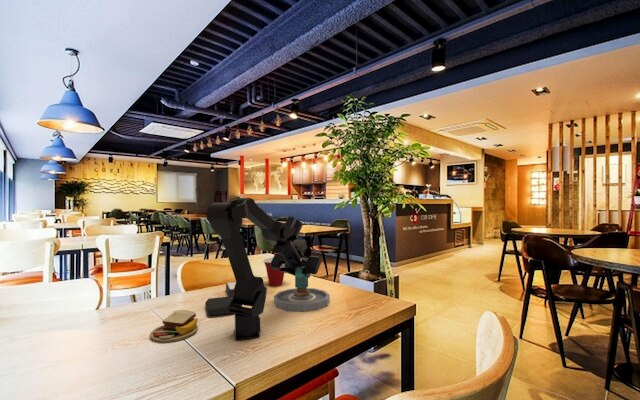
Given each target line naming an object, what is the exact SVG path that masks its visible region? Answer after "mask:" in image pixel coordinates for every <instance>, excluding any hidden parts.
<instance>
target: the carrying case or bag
mask: <svg viewBox="0 0 640 400" xmlns="http://www.w3.org/2000/svg"><path fill="white" fill-rule="evenodd" d="M231 300H232V298H231V297H228V296H218V297H212V298H208V299H207V300H206V301H205V302H204V303H205V304H204V305H205V311H206V315H207V316H208V317H210V318H217V317H224V316H230V315H234V314H233V313H229V310H228V306H229V304H230V302H231Z"/></svg>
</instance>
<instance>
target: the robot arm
mask: <svg viewBox="0 0 640 400" xmlns="http://www.w3.org/2000/svg"><path fill="white" fill-rule="evenodd" d="M205 215H206V219H207V222H208V223H209V225H210V227H211V229H212V230H213V231H214V232H215V233H216V234H217V235H218V236H219V237H220V238H221V240H222V243H223V246H224V249H225V252H226V255H227V259H228V262H229V264H230V267H231V270H232V272H233V276H234V279H235V282H236V284H235V287H234V294H235V295H234V296H233V298H232V300H231V302H230V304H229V306H228V310H229V313H233V314H232V315H234V330H233V335H234V340H235V341H242V340H249V339H254V338H255V339H256V338H260V333H261V317H260V315H261V314H263V313H264V309H265V306H266V305H265V304H266V299H267V294H266V292H265V289H266V288H267V286H266V285H265V284H264V279H263V277H262V276H255V275H254V272H253V269H252V266H251V262H250V259H249V256H248V253H247V250H246V247H245V243H244V241H243V237H242V234H241V228H242V225H243V218H246V219H248V221H250V222H251V223H252V224H253V225H255V226H256V227H257V229H259V230H260V231H261V236H262V237H263V238H264V240H265V241H267V242H274V244H273V247H272V249H271V253H272V254H274V255H273V259H272V261H271V263H270V267H271V268H272V269H273V270H279V269H280V268H281V269H280V271H282V272H284V274H289V275H291V276H294V277H295V268H298V267H299V268H301V266H303V267H304V268H303V271H302V274H303V275H305V276H306V277H308V279H310V277H311V275H317V273H319V269H320V267H321V264H322V258H321V257H320V256H318V255H317V256H316V255H315V256H314V255H309V256H308V257H304V256H305V254H304V252H306V250H307V249H308V245H307V240H306V239H299V238H298V237H299V235H300V232H301V231H302V228H303V226H304V225H303V223H302V222H301V221H300V220H299V219H297V218H295V217H294V216H288V217H287V218H286V222H285V223H283V222H282V221H278V220H276V219H274V218H272V217H271V216H270V215H269V214H268V213H267V212H266V211H264V209H263V208H261V207H260V206H259V205H258V204H257V203H256V202H255V200H254V198H251V197H237V198H235V199H232V200H228V201H224V202H213V203H211V204H210V205H208V208H207V211H206V213H205ZM302 258H305V259H302ZM264 285H265V286H266V287H265V286H264Z"/></svg>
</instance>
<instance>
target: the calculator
mask: <svg viewBox="0 0 640 400" xmlns="http://www.w3.org/2000/svg"><path fill="white" fill-rule="evenodd" d="M235 284H236V281H234V282H227V283H226V284H225V294H226V293H227V294H226V297H231V298H233V296H234V295H235V294H234V287H235ZM264 286H265V287H266V289H265V292H266V295H267V294H268V292H267V290H268V288H267V286H266V285H265V284H264Z"/></svg>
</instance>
